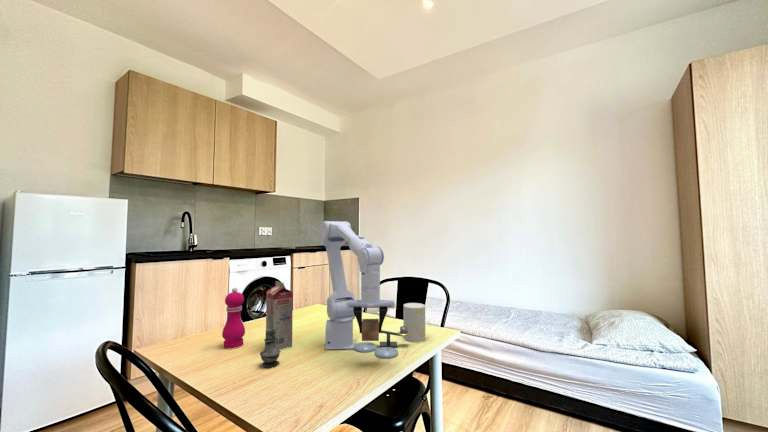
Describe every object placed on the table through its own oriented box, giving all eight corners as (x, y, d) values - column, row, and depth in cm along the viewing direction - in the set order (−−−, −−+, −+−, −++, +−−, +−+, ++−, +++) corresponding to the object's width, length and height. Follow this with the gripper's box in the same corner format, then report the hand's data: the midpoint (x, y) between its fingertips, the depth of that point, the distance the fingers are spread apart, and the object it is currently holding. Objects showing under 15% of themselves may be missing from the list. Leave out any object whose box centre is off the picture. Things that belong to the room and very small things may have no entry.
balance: (367, 348, 106) (367, 329, 106) (367, 344, 110) (367, 325, 110) (410, 347, 106) (409, 328, 107) (408, 343, 110) (408, 325, 111)
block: (361, 341, 92) (361, 323, 92) (362, 335, 97) (362, 318, 97) (378, 340, 92) (378, 323, 92) (378, 335, 97) (378, 318, 97)
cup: (418, 343, 111) (418, 309, 111) (399, 338, 115) (399, 305, 116) (429, 337, 117) (429, 304, 118) (410, 332, 122) (410, 301, 122)
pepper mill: (216, 347, 107) (218, 288, 108) (234, 340, 113) (235, 285, 114) (232, 350, 104) (234, 290, 105) (249, 343, 111) (250, 286, 112)
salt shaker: (260, 370, 89) (261, 327, 90) (258, 362, 94) (259, 322, 95) (281, 366, 92) (282, 325, 92) (278, 359, 97) (279, 320, 98)
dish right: (374, 358, 97) (374, 356, 97) (374, 349, 105) (374, 347, 105) (398, 358, 97) (398, 355, 97) (397, 349, 105) (397, 346, 105)
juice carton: (273, 351, 103) (274, 284, 104) (265, 345, 108) (266, 282, 109) (292, 346, 108) (292, 282, 109) (284, 341, 113) (284, 280, 114)
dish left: (353, 352, 102) (353, 350, 102) (354, 344, 110) (354, 342, 110) (376, 352, 102) (376, 350, 102) (376, 344, 110) (376, 341, 110)
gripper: (345, 289, 91) (345, 336, 90) (395, 289, 91) (395, 336, 91) (347, 285, 98) (347, 329, 97) (393, 284, 98) (393, 328, 98)
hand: (370, 332), depth 94 cm, fingers closed on block, 5 cm apart
